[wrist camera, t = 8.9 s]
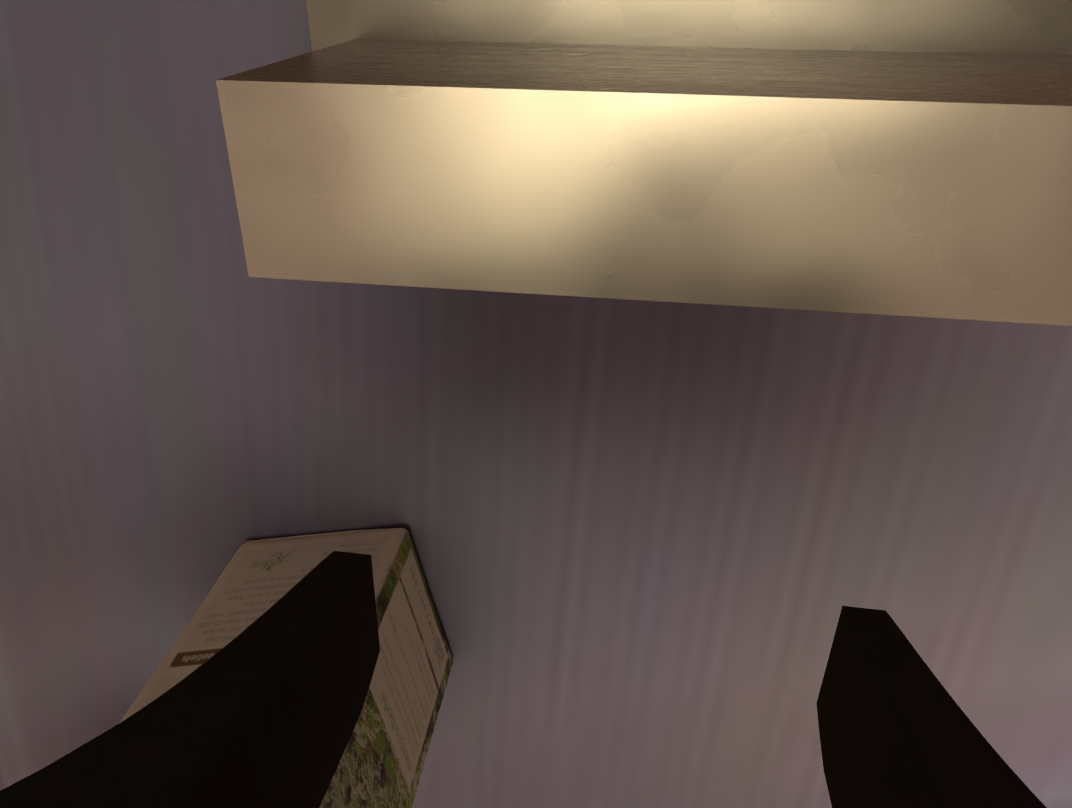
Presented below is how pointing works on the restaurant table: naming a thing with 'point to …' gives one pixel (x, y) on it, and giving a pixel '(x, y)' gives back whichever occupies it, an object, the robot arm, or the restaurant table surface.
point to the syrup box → (400, 673)
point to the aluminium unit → (671, 152)
